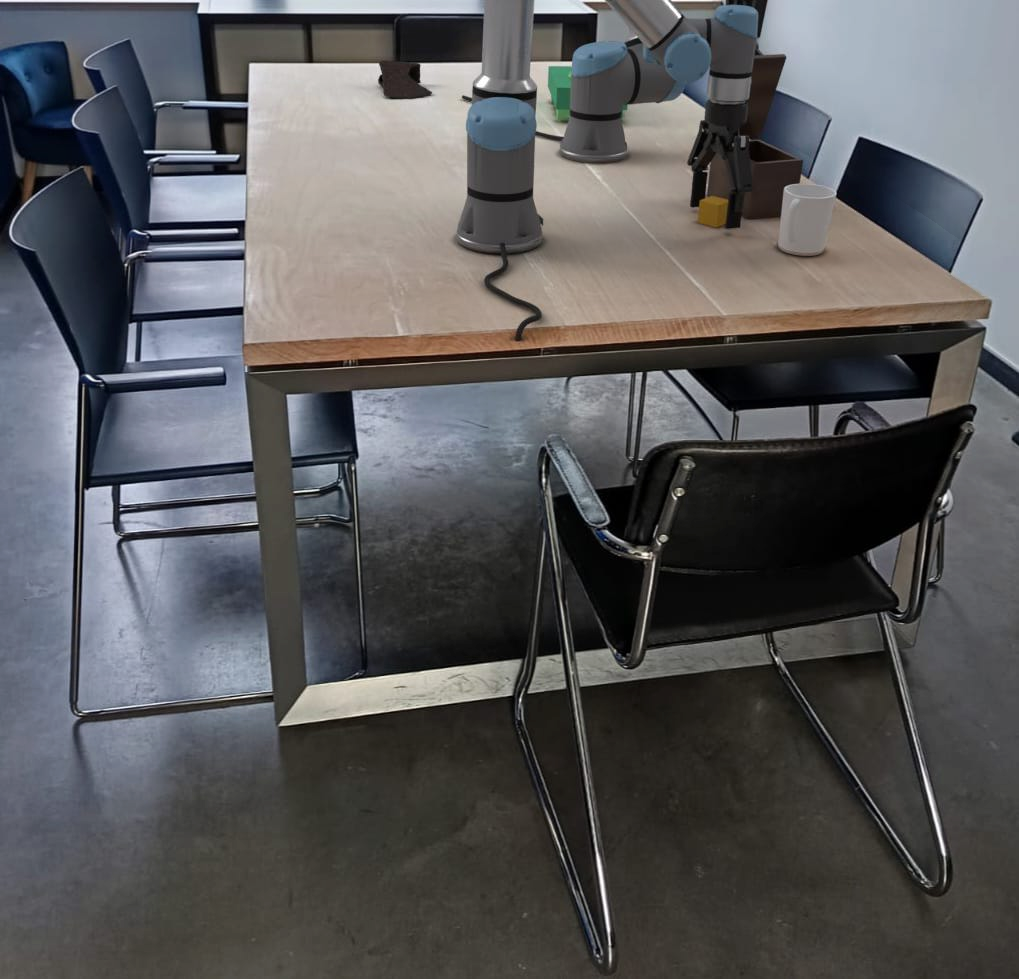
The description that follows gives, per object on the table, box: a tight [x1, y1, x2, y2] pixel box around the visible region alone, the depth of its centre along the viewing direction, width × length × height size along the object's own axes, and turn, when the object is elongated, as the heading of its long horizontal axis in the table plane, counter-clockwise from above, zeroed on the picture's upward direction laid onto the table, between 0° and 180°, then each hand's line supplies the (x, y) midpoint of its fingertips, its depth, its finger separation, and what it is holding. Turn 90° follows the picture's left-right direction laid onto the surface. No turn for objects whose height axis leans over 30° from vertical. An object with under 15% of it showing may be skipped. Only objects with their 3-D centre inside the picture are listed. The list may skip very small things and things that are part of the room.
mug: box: [777, 183, 837, 257], centre depth 191 cm, size 11×9×10 cm
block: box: [697, 196, 728, 228], centre depth 206 cm, size 4×4×4 cm
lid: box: [739, 41, 787, 139], centre depth 214 cm, size 17×10×9 cm
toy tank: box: [547, 65, 629, 122], centre depth 283 cm, size 18×12×35 cm
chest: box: [706, 138, 804, 220], centre depth 215 cm, size 16×10×10 cm, turn 20°
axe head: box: [377, 59, 433, 99], centre depth 299 cm, size 18×8×15 cm
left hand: (714, 217), depth 207 cm, fingers open, 13 cm apart
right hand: (736, 73), depth 214 cm, fingers closed on lid, 2 cm apart
